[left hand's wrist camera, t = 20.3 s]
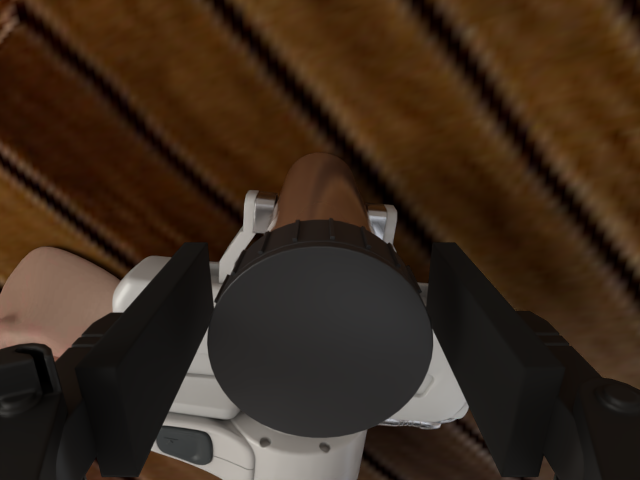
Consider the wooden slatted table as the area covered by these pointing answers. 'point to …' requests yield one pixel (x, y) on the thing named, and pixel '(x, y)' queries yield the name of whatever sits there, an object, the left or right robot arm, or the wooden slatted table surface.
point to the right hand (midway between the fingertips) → (321, 199)
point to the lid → (320, 330)
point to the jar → (320, 194)
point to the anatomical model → (53, 299)
